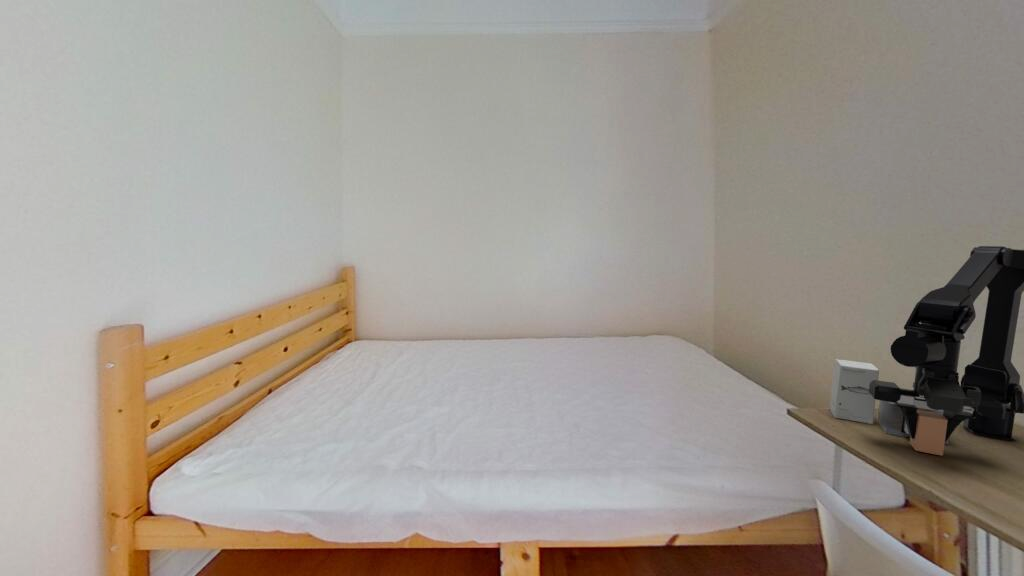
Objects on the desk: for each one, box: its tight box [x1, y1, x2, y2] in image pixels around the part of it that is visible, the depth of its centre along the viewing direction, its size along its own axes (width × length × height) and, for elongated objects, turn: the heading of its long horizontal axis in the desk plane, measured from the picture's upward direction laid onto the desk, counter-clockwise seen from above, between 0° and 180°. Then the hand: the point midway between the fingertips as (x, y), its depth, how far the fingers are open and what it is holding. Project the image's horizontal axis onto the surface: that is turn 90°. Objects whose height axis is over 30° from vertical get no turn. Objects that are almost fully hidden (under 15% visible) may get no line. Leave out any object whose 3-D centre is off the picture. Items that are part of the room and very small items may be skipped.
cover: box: [902, 410, 948, 457], centre depth 92 cm, size 4×12×7 cm, turn 151°
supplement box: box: [829, 358, 880, 425], centre depth 106 cm, size 7×7×13 cm
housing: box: [876, 400, 950, 445], centre depth 98 cm, size 10×8×7 cm
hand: (926, 440), depth 89 cm, fingers closed on cover, 4 cm apart
